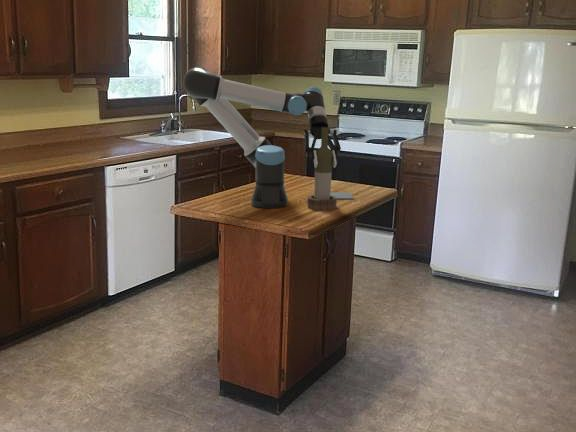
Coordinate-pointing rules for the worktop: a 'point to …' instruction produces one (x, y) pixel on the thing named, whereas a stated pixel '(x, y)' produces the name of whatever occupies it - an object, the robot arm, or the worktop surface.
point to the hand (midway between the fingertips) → (325, 165)
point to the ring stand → (322, 203)
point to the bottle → (323, 169)
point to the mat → (342, 195)
